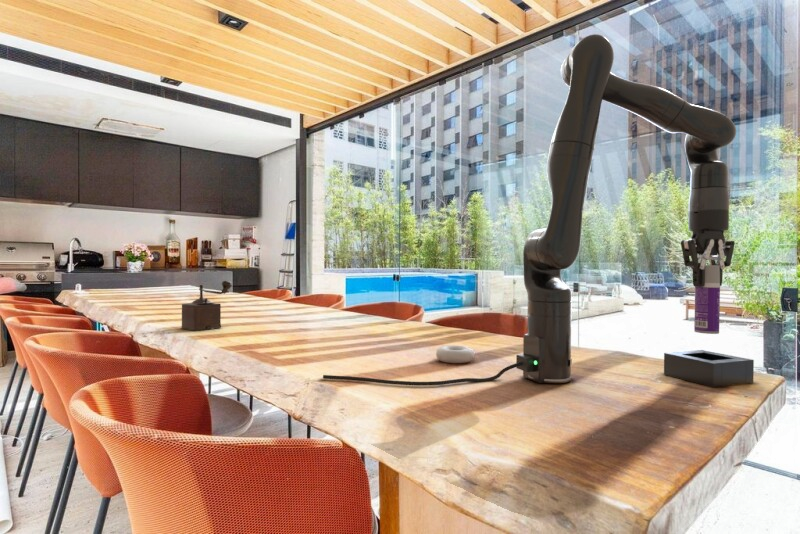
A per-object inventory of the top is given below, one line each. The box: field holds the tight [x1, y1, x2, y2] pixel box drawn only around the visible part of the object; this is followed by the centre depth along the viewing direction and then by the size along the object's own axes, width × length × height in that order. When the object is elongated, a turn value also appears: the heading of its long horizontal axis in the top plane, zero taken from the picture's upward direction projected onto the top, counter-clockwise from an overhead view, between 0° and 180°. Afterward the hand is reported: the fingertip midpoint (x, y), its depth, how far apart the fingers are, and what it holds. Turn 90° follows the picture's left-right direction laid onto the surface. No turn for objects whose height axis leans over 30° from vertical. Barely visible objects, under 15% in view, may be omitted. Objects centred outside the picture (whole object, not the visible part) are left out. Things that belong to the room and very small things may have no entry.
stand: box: [663, 349, 755, 388], centre depth 107 cm, size 12×12×5 cm
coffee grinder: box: [181, 279, 233, 332], centre depth 182 cm, size 16×11×18 cm
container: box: [693, 264, 721, 335], centre depth 106 cm, size 5×5×15 cm
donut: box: [435, 345, 475, 364], centre depth 124 cm, size 10×4×10 cm
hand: (707, 286), depth 106 cm, fingers closed on container, 4 cm apart
